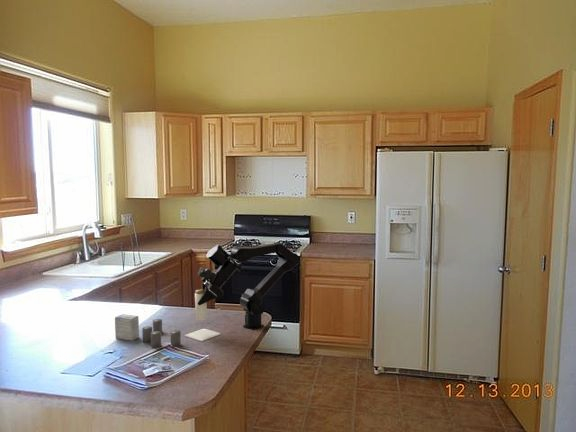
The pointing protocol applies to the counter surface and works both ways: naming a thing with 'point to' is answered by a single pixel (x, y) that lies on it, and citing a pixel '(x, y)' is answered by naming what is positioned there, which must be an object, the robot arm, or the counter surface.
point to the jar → (200, 306)
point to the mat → (202, 334)
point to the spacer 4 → (176, 338)
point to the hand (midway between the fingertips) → (197, 303)
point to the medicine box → (126, 327)
